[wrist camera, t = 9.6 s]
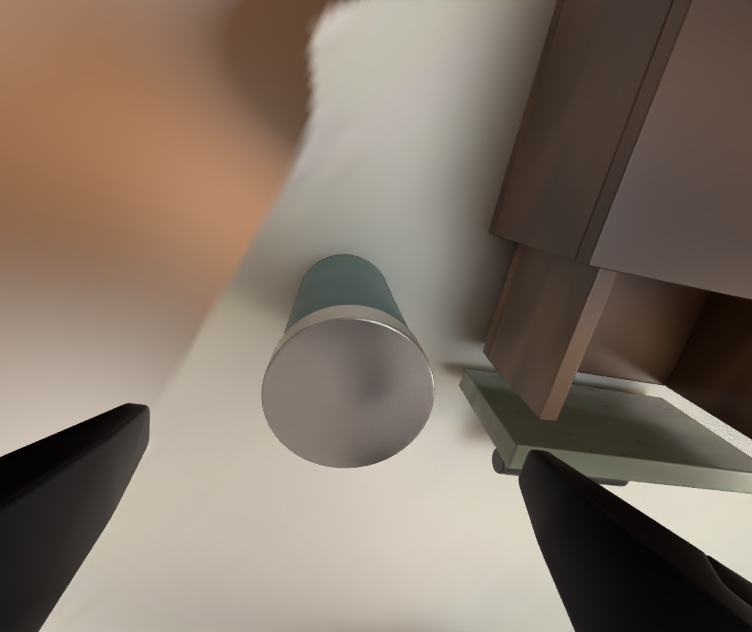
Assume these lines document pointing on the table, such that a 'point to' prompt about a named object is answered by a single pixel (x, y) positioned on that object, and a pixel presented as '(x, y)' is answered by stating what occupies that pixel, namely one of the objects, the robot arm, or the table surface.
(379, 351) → the tea tin
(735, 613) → the robot arm
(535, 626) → the table surface
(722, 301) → the drawer
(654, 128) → the cabinet
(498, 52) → the table surface
